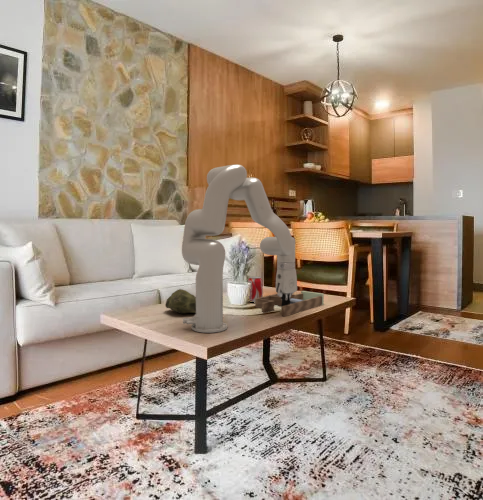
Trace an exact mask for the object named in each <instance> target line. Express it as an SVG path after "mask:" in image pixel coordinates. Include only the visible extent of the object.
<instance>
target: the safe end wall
mask: <svg viewBox="0 0 483 500" xmlns="http://www.w3.org/2000/svg"><path fill="white" fill-rule="evenodd" d="M300 293H302V294H303V300H307V299H311V298H314V297H318V296H322V305H321V306H323V305H324V302H325V300H324V297H325V296H324V295H325V293H321V292H315V291H314V292H313V291H307V290H301V291H300Z"/></svg>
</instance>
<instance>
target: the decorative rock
mask: <svg viewBox="0 0 483 500" xmlns="http://www.w3.org/2000/svg"><path fill="white" fill-rule="evenodd" d="M165 308H166V309H170V310H172V311H173V312H174V313H179V314H180V315H185V314H189V313H191V314H192V313H193V314H196V295H194V294H193V293H191V292H189V291H187V290H184V289H181V288H179V289H177V290H175V291H173V292H172V293H171V295H170V296H169V297H168V298H167V299H166V301H165Z"/></svg>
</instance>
